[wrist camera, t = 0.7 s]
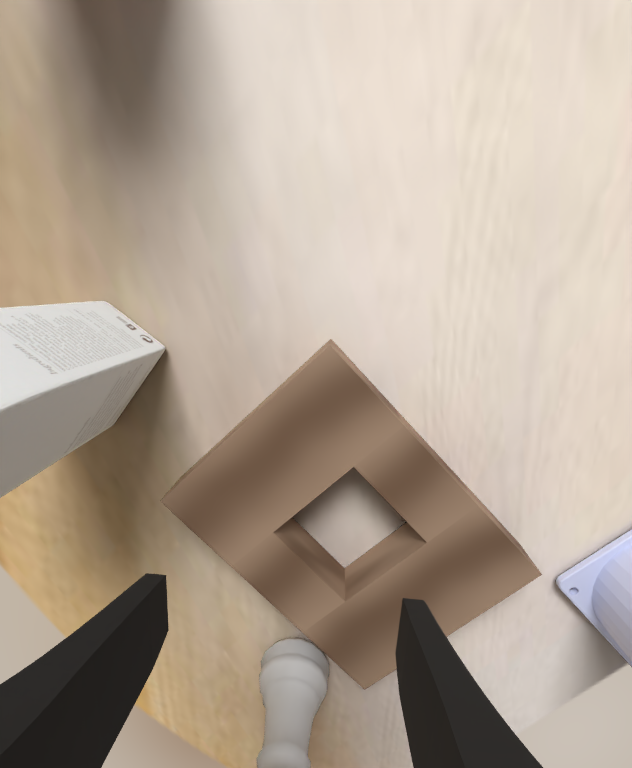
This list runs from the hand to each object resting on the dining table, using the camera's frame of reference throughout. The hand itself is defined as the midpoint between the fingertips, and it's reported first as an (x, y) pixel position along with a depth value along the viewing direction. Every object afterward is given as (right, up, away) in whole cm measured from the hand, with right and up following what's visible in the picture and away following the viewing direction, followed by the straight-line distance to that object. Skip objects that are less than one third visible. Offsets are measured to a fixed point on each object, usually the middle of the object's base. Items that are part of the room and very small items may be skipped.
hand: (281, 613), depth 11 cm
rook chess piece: (0, -11, +13) cm, 18 cm away
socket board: (+3, 0, +10) cm, 11 cm away
